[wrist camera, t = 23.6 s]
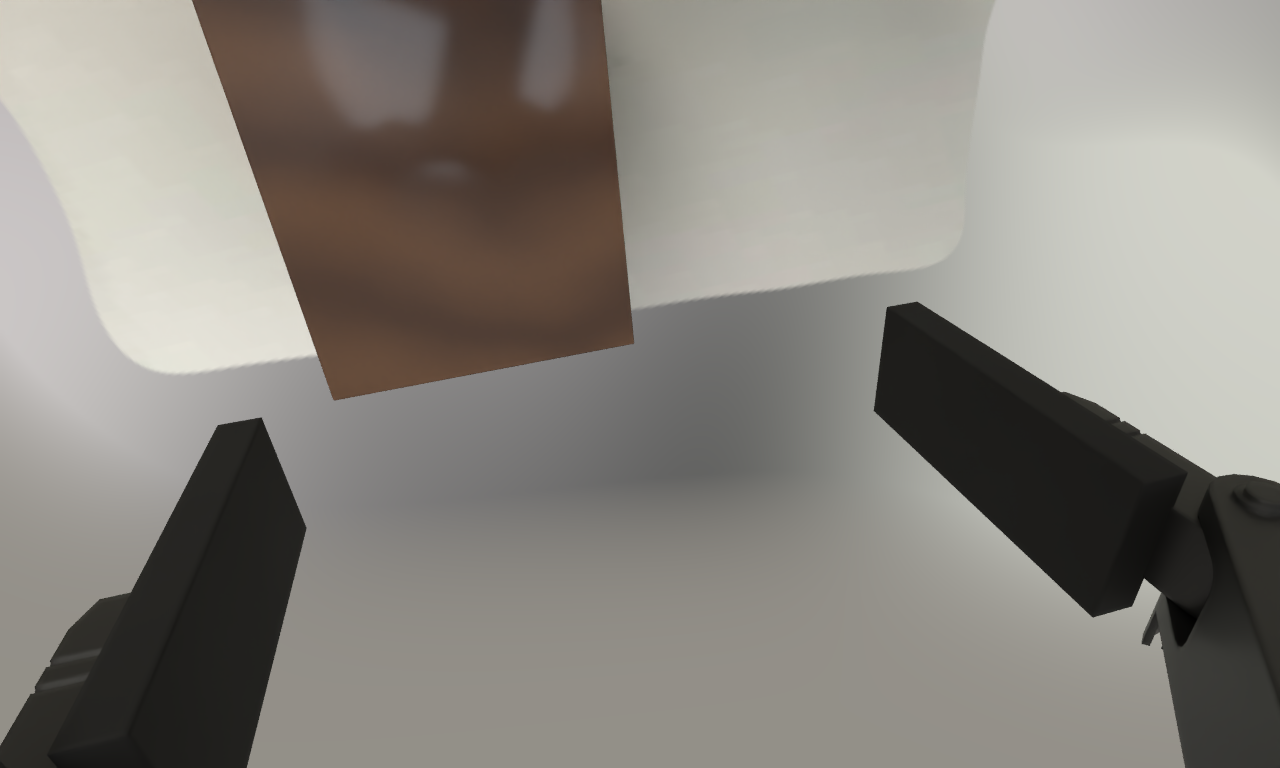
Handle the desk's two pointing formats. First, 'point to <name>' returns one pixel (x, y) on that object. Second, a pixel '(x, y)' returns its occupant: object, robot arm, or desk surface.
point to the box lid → (433, 178)
